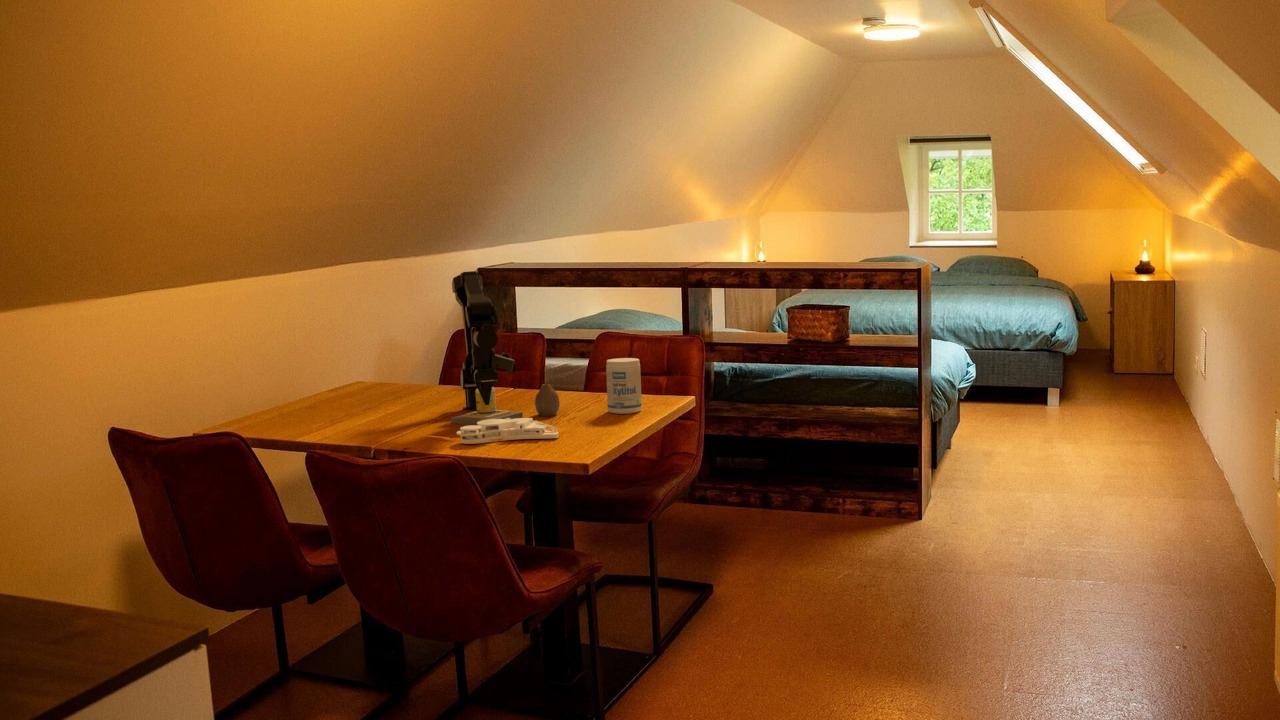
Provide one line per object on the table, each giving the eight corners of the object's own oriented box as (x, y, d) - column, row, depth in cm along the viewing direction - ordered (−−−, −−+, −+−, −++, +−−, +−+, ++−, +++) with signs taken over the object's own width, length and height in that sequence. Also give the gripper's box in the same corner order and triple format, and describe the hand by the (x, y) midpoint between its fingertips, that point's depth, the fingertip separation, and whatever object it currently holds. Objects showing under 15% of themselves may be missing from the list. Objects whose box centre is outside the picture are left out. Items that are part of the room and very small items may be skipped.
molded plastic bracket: (551, 443, 274) (550, 425, 273) (453, 444, 278) (452, 427, 277) (570, 426, 296) (569, 409, 296) (479, 428, 300) (478, 411, 299)
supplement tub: (614, 415, 305) (611, 362, 303) (603, 411, 314) (600, 359, 312) (647, 412, 308) (644, 359, 307) (635, 407, 317) (633, 356, 315)
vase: (556, 417, 307) (554, 386, 306) (532, 417, 308) (530, 386, 307) (563, 413, 314) (561, 382, 313) (539, 413, 315) (537, 383, 314)
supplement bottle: (477, 414, 310) (475, 379, 309) (497, 412, 310) (494, 378, 309) (476, 417, 305) (474, 381, 304) (496, 415, 305) (494, 380, 304)
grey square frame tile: (451, 423, 306) (450, 415, 305) (484, 414, 317) (484, 407, 317) (489, 426, 298) (489, 418, 298) (522, 417, 310) (522, 410, 309)
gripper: (514, 347, 298) (518, 405, 300) (508, 341, 316) (512, 395, 318) (473, 350, 296) (476, 408, 297) (469, 344, 314) (472, 398, 316)
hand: (486, 402), depth 307 cm, fingers open, 9 cm apart
